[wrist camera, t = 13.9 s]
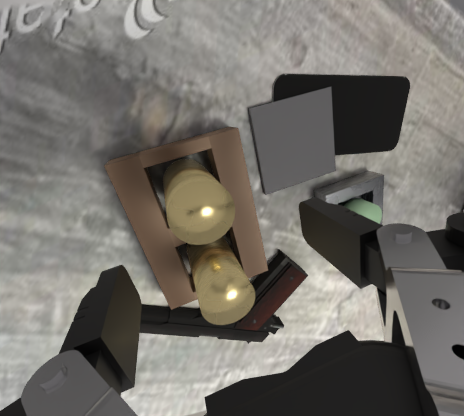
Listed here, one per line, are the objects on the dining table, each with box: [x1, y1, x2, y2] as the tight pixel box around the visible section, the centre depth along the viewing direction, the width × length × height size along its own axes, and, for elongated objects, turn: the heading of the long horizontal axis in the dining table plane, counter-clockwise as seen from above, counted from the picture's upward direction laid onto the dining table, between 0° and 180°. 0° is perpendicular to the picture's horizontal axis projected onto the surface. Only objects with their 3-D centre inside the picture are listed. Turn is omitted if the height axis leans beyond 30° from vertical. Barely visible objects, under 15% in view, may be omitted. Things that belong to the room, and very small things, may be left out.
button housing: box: [314, 171, 384, 225], centre depth 27 cm, size 7×7×2 cm
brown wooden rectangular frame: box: [104, 127, 268, 310], centre depth 21 cm, size 10×14×2 cm
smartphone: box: [272, 74, 410, 155], centre depth 24 cm, size 7×1×15 cm
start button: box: [344, 198, 382, 224], centre depth 25 cm, size 4×4×2 cm
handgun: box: [139, 250, 308, 344], centre depth 26 cm, size 2×17×12 cm
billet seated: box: [186, 236, 255, 325], centre depth 20 cm, size 4×4×8 cm
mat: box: [248, 87, 336, 195], centre depth 23 cm, size 8×8×1 cm
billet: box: [163, 159, 235, 245], centre depth 18 cm, size 4×4×8 cm
